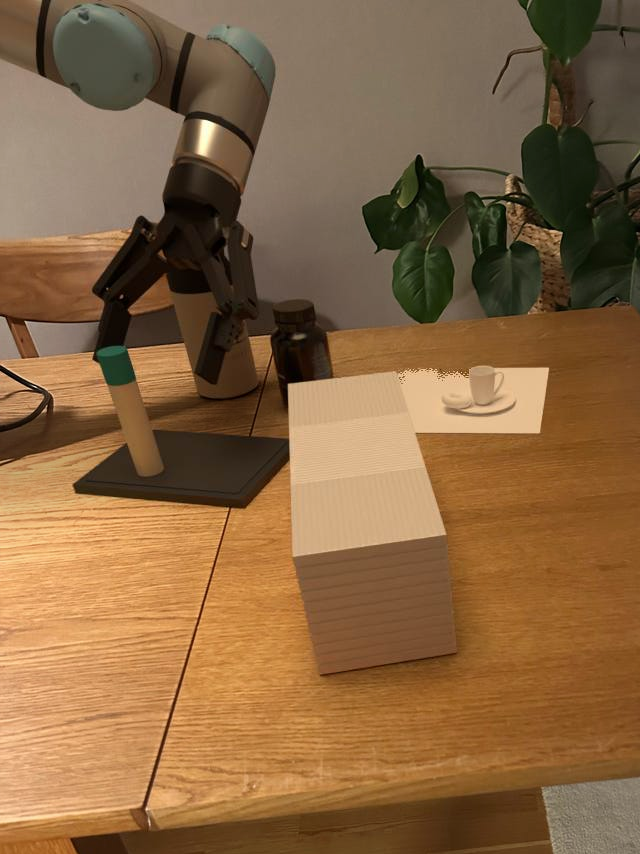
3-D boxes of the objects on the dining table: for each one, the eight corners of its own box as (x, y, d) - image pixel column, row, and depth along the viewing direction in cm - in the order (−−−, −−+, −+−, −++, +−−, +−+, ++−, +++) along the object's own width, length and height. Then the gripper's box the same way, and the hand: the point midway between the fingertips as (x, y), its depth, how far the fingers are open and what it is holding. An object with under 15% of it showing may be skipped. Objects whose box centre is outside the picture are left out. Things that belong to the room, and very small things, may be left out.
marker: (131, 476, 89) (89, 355, 81) (146, 463, 91) (107, 344, 83) (155, 478, 89) (115, 356, 80) (169, 465, 91) (132, 346, 83)
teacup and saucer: (439, 416, 100) (436, 383, 97) (449, 390, 106) (446, 358, 103) (512, 417, 99) (511, 383, 96) (518, 390, 105) (517, 358, 102)
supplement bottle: (272, 409, 104) (250, 311, 96) (303, 389, 109) (285, 293, 101) (317, 417, 101) (299, 316, 94) (348, 396, 106) (333, 298, 99)
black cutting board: (75, 492, 89) (71, 483, 89) (146, 436, 100) (144, 427, 99) (244, 508, 85) (241, 498, 84) (300, 447, 95) (299, 438, 95)
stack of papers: (457, 653, 65) (446, 534, 58) (319, 675, 64) (292, 556, 57) (407, 469, 90) (395, 370, 83) (307, 482, 88) (287, 383, 82)
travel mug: (187, 389, 111) (147, 243, 100) (241, 372, 115) (208, 229, 103) (215, 405, 106) (175, 254, 95) (270, 387, 110) (238, 239, 98)
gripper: (324, 208, 88) (272, 400, 87) (140, 200, 96) (90, 375, 95) (286, 160, 81) (228, 368, 80) (91, 156, 89) (36, 344, 88)
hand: (153, 372), depth 87 cm, fingers open, 13 cm apart
